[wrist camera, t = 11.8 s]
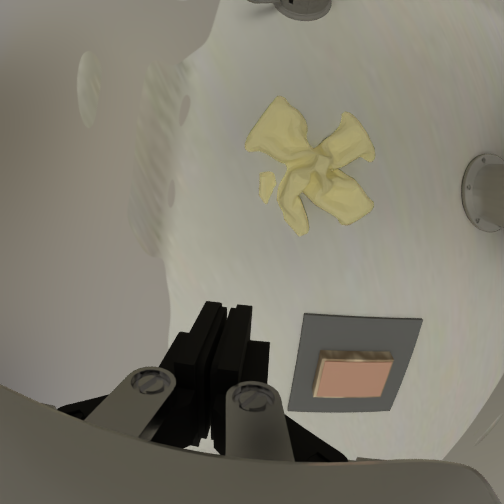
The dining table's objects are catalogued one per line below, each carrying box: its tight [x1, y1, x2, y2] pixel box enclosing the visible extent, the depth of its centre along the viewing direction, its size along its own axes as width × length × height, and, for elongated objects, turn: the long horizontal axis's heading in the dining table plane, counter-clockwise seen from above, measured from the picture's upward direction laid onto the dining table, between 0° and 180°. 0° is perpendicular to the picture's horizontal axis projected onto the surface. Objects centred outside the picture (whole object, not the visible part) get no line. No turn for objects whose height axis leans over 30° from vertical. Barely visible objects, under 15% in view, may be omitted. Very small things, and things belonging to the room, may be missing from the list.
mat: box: [288, 313, 423, 412], centre depth 47 cm, size 20×20×1 cm
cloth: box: [245, 96, 375, 236], centre depth 38 cm, size 22×19×6 cm
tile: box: [312, 350, 394, 398], centre depth 45 cm, size 3×8×12 cm
